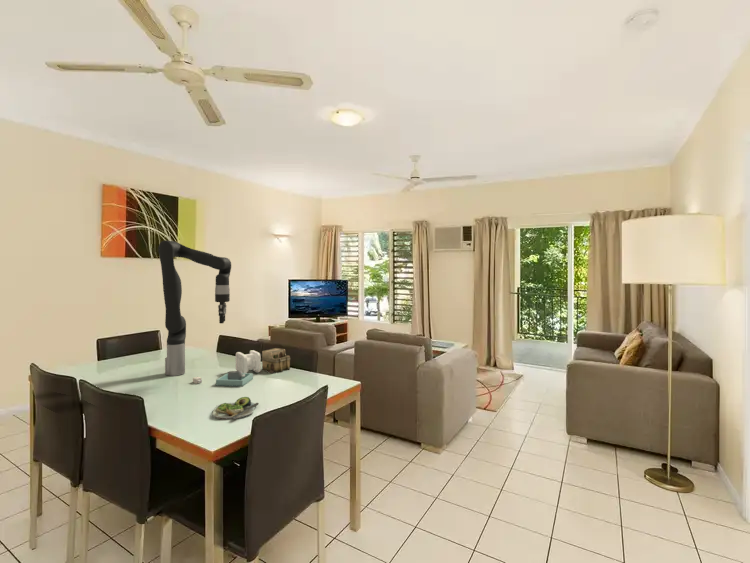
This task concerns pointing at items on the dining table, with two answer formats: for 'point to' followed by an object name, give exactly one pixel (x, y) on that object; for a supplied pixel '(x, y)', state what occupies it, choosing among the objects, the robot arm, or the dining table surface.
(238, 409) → the salad plate
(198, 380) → the small plug
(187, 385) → the dining table surface
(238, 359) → the cable organizer
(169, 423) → the dining table surface
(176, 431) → the dining table surface
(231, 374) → the connector
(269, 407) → the dining table surface
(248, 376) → the tray
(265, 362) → the miniature house
